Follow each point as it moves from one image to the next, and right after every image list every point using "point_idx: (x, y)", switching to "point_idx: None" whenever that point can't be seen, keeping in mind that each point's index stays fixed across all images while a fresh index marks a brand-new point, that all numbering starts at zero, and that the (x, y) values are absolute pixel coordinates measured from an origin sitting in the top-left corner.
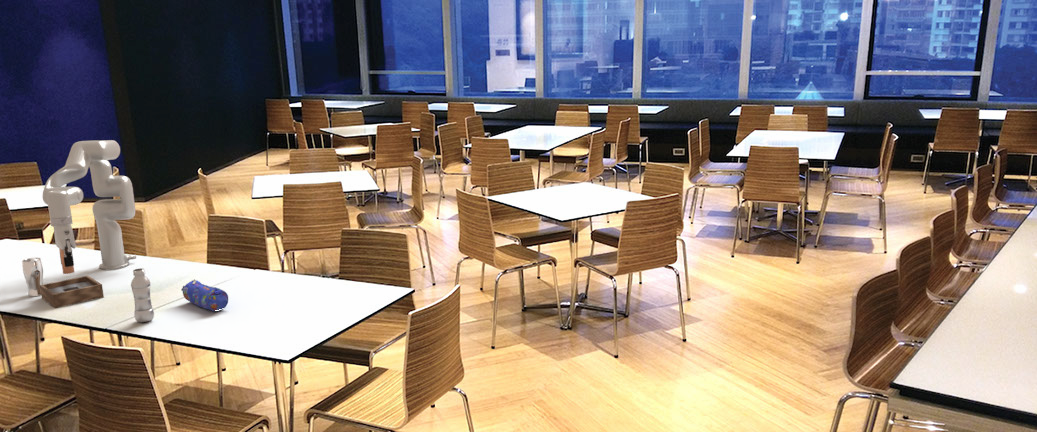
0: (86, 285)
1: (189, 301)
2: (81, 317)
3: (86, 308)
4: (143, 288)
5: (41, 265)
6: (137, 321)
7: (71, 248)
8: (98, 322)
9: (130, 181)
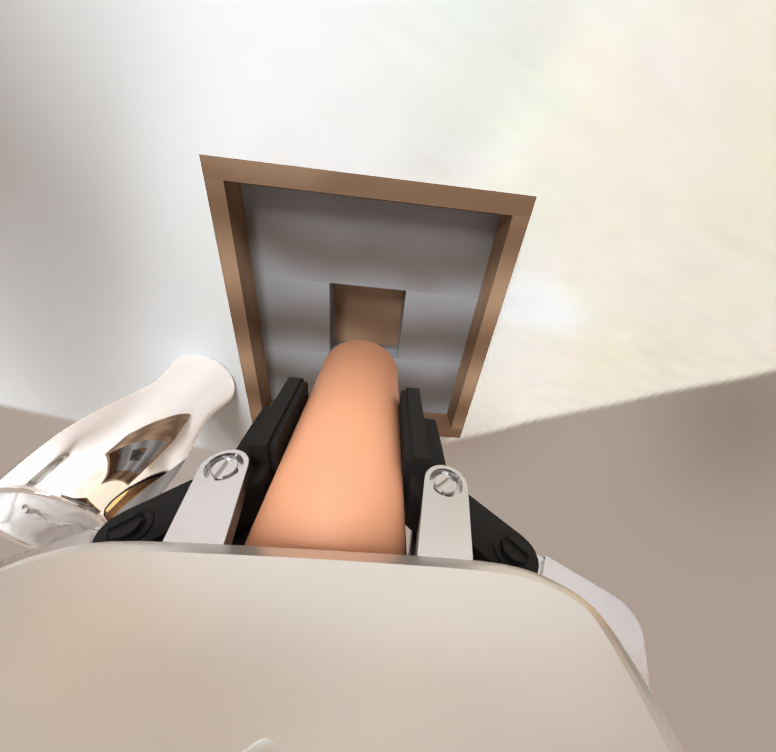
0: (350, 233)
1: None
2: (642, 385)
3: (571, 334)
4: None
5: (104, 454)
6: None
7: (645, 671)
8: (759, 372)
9: None
